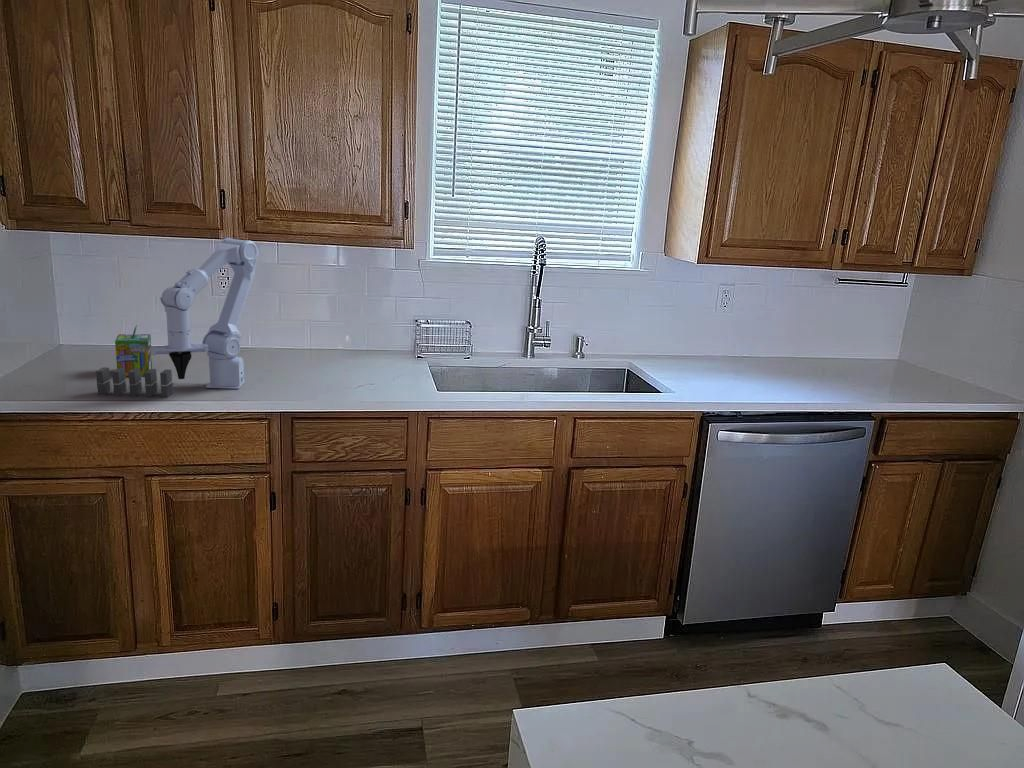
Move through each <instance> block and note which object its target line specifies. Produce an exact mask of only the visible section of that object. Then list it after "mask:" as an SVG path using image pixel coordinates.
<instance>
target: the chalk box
mask: <svg viewBox="0 0 1024 768" xmlns="http://www.w3.org/2000/svg"><path fill="white" fill-rule="evenodd" d="M137 327H138V325H135V327H134V329H133V333H132V334H131V333H119V334H117V336H116V339H115V341H114V342H115V345H114V346H115V359H116V369H118V368H125V377H129V374H128V372H130V371H131V370H133V369H134V368H137V369H141V377H145V374H144V373H145V372H146V371H148V370H149V369H153V359H152V355H151V350H150V347H152V337H151V336H152V335H151V334H150V333H149V334H147V333H146V334H143V333H140V334H138V333H136V331H137Z"/></svg>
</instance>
